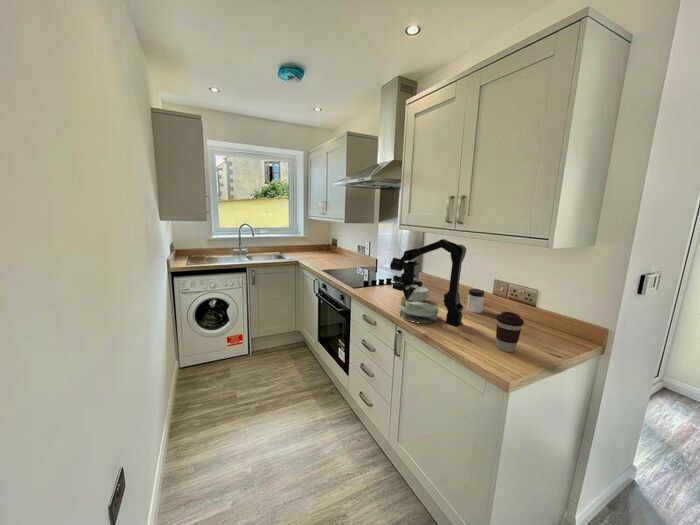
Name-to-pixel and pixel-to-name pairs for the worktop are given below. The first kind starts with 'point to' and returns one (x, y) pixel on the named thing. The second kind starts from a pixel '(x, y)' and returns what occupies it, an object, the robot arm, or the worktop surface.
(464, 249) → the robot arm
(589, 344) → the worktop surface
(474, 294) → the jar
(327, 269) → the worktop surface
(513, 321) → the coffee cup
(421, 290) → the paper bowls
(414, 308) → the handwheel
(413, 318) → the grey metal shallow dish
